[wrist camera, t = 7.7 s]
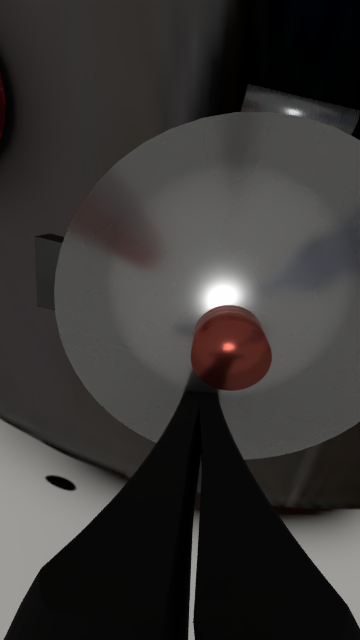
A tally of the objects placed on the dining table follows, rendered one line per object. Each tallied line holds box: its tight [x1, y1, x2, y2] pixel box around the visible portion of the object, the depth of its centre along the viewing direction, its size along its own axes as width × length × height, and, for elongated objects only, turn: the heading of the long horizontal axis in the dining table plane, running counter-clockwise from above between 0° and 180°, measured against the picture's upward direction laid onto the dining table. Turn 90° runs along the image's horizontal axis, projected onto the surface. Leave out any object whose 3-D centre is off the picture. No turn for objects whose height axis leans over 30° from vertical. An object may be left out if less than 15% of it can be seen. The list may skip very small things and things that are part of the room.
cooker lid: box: [54, 84, 360, 459], centre depth 9 cm, size 13×13×3 cm
